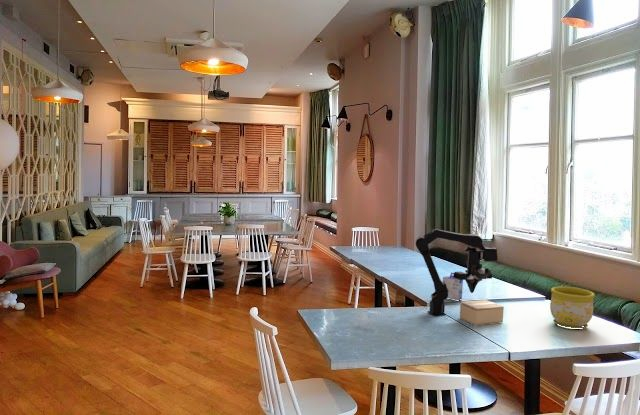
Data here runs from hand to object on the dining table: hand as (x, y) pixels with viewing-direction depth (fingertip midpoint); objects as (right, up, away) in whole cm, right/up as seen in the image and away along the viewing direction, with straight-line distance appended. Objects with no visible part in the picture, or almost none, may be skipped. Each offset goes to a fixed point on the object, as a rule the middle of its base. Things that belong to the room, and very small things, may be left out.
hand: (471, 292), depth 239 cm
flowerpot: (+43, -14, -9) cm, 46 cm away
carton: (+3, -12, -5) cm, 13 cm away
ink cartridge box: (-1, -9, +31) cm, 33 cm away
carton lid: (+3, -5, -5) cm, 8 cm away
